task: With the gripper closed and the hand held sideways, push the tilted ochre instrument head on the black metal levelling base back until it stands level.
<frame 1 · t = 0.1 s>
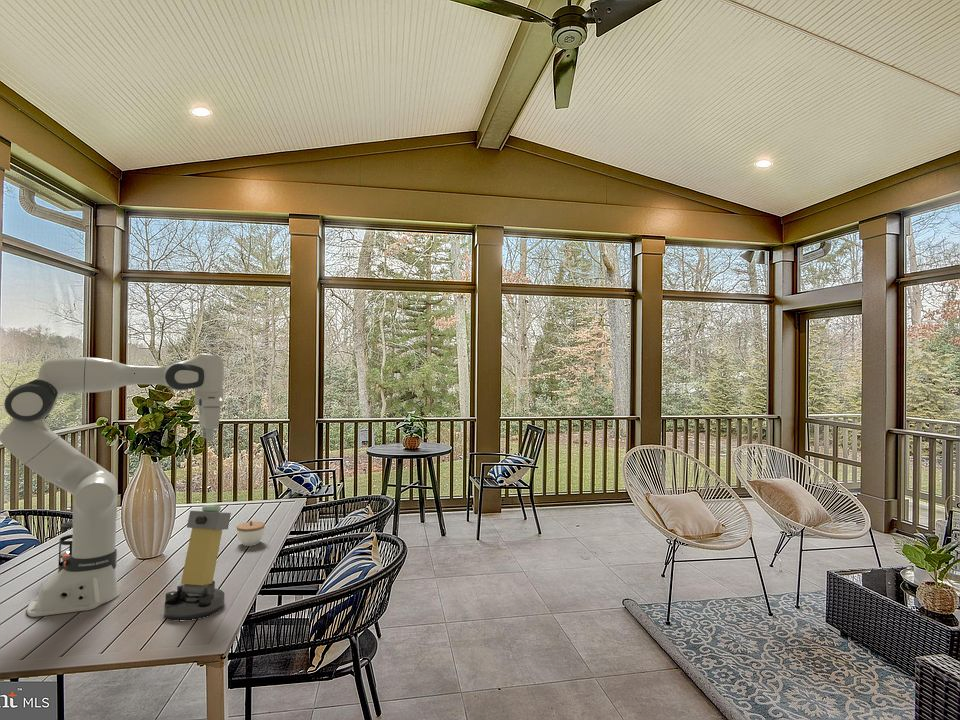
hand: (207, 439, 182), 48 cm above the table, tool pointing down, fingers open, 8 cm apart
french press: (74, 571, 185), on the table
levelling base: (194, 608, 159), on the table
lidded jar: (250, 544, 218), on the table
instrument head: (201, 548, 161), point 17 cm above the table, hinge at 15.0°
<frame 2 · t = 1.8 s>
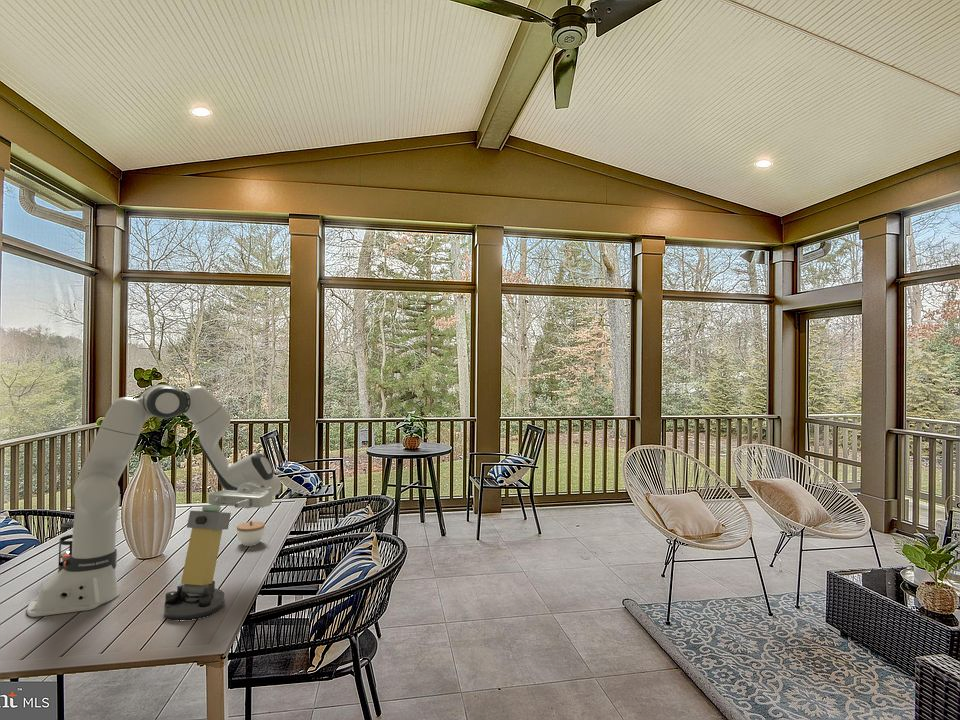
hand: (225, 504, 173), 28 cm above the table, tool horizontal, fingers open, 7 cm apart
nothing on the table moved.
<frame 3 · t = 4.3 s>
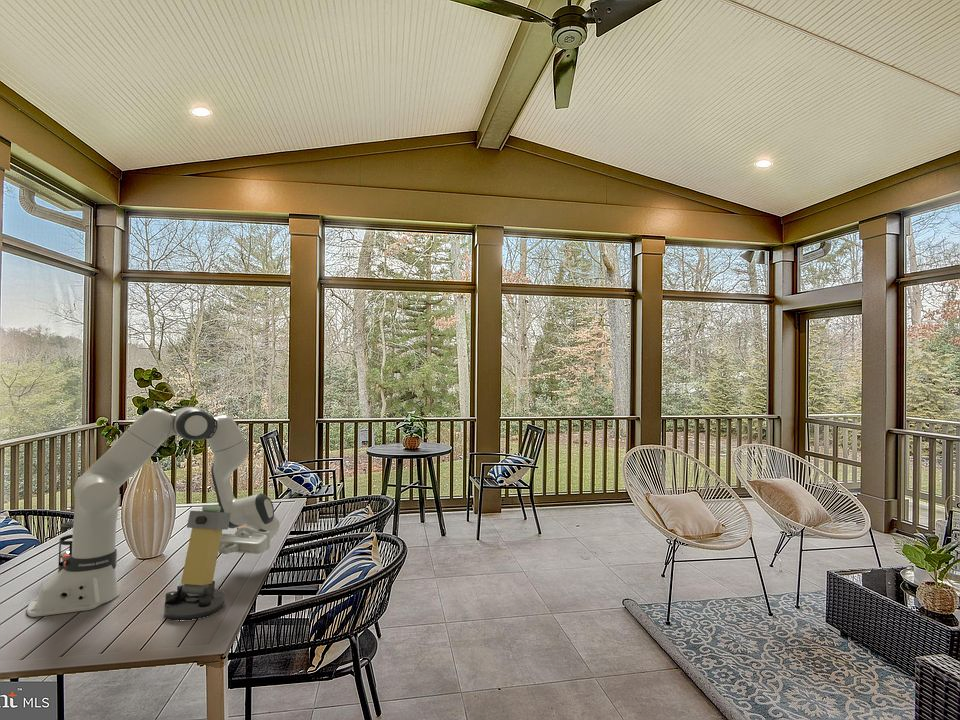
hand: (222, 551, 172), 13 cm above the table, tool horizontal, fingers closed
nothing on the table moved.
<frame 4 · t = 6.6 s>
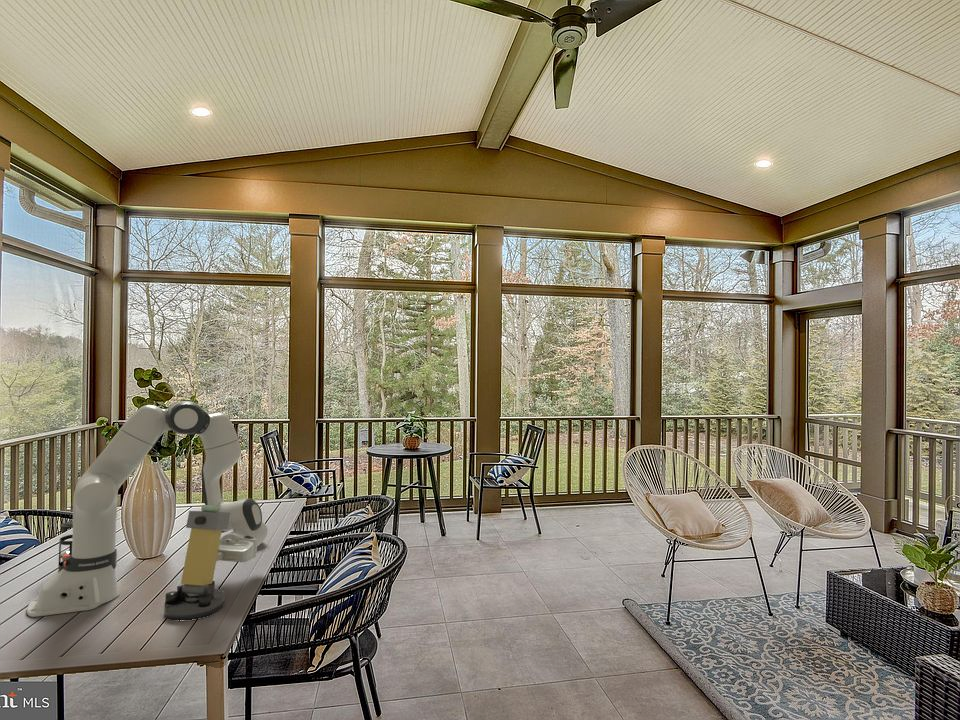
hand: (206, 560, 164), 13 cm above the table, tool horizontal, fingers closed, pressing on instrument head
instrument head: (201, 549, 161), point 17 cm above the table, hinge at 13.9°, touching gripper
everything else where it was.
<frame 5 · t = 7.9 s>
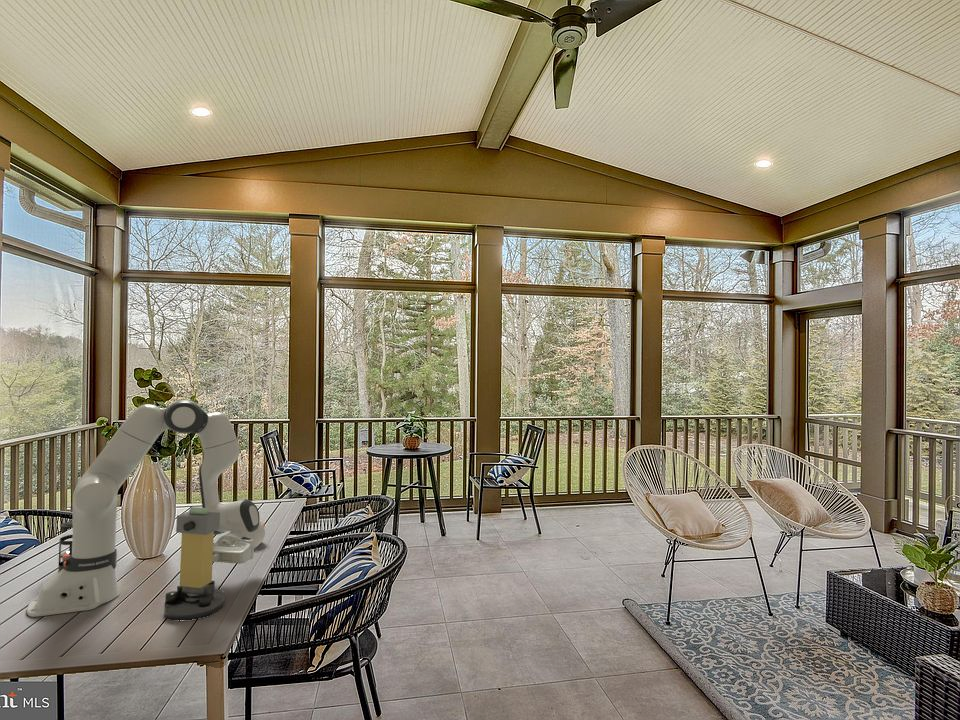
hand: (202, 561, 162), 13 cm above the table, tool horizontal, fingers closed, pressing on instrument head
instrument head: (194, 551, 159), point 18 cm above the table, hinge at 0.4°, touching gripper
everything else where it was.
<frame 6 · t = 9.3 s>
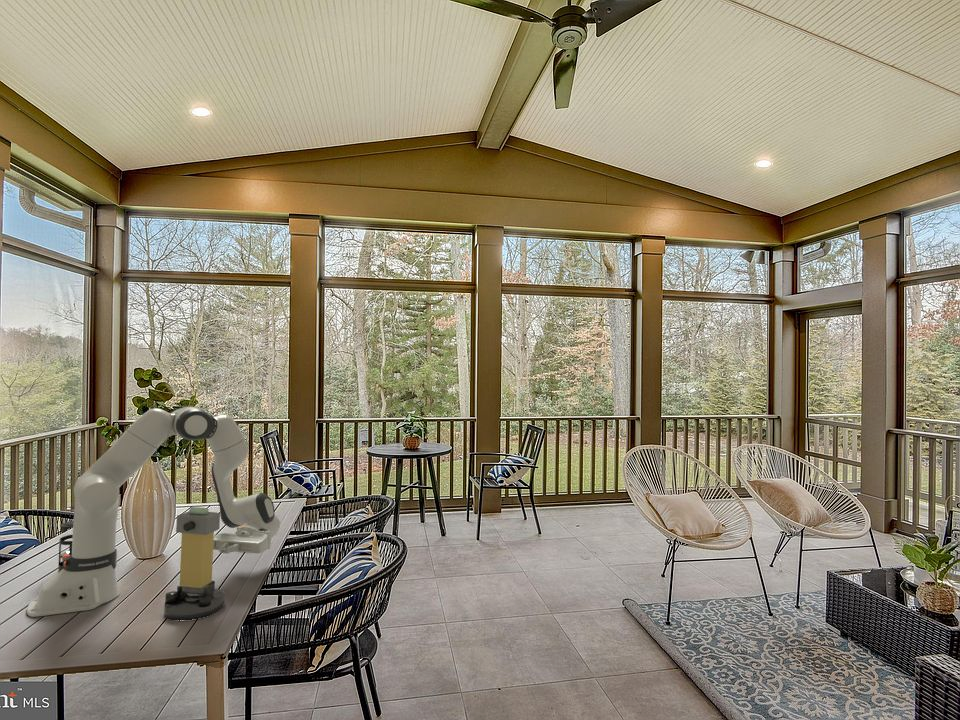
hand: (223, 551, 172), 13 cm above the table, tool horizontal, fingers closed
instrument head: (194, 551, 159), point 18 cm above the table, hinge at 0.4°
everything else where it was.
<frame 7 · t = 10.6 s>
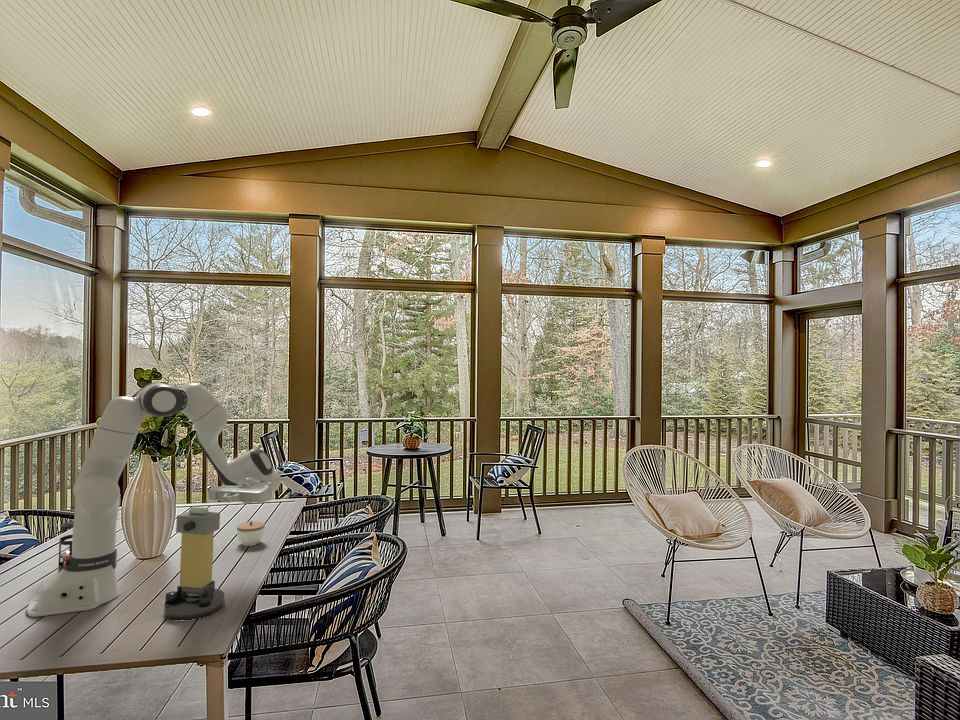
hand: (224, 500, 173), 30 cm above the table, tool horizontal, fingers closed
nothing on the table moved.
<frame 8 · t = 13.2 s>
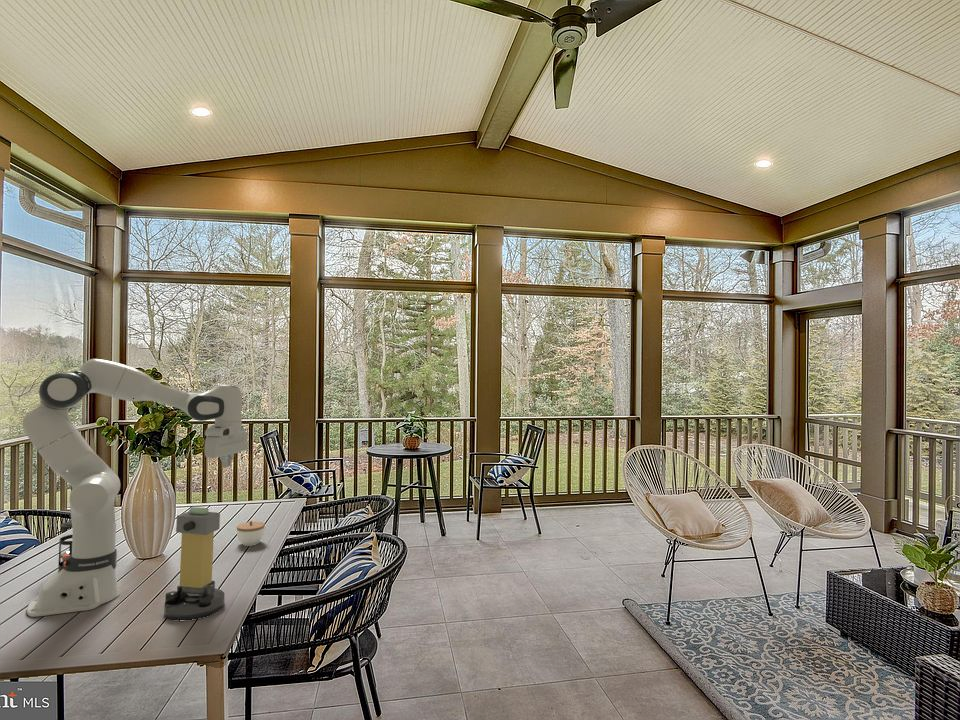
hand: (226, 467, 191), 37 cm above the table, tool pointing down, fingers closed
nothing on the table moved.
at the end: instrument head at +0° (first picture: +15°); instrument head tilted 0° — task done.
